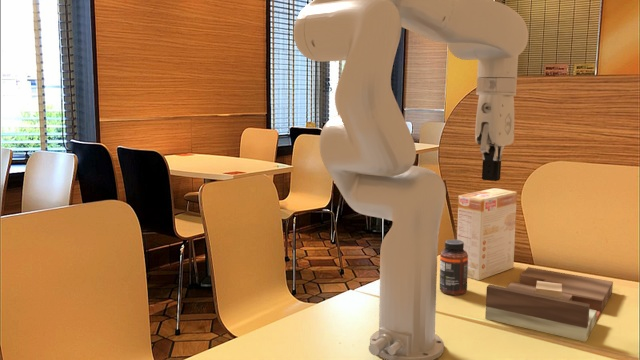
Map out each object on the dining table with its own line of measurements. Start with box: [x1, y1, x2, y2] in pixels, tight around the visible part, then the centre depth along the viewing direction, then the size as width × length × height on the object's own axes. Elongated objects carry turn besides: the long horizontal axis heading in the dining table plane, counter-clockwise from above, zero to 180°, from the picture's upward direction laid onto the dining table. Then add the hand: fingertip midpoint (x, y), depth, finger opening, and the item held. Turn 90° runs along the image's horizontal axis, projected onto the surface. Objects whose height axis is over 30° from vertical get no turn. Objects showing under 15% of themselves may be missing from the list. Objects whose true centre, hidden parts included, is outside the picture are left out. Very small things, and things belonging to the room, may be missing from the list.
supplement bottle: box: [439, 239, 468, 296], centre depth 125 cm, size 6×6×11 cm
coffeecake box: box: [456, 187, 518, 281], centre depth 138 cm, size 15×7×20 cm, turn 130°
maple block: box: [536, 281, 562, 298], centre depth 108 cm, size 4×4×4 cm
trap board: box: [484, 266, 614, 343], centre depth 117 cm, size 30×18×6 cm, turn 145°
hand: (490, 179), depth 114 cm, fingers closed
